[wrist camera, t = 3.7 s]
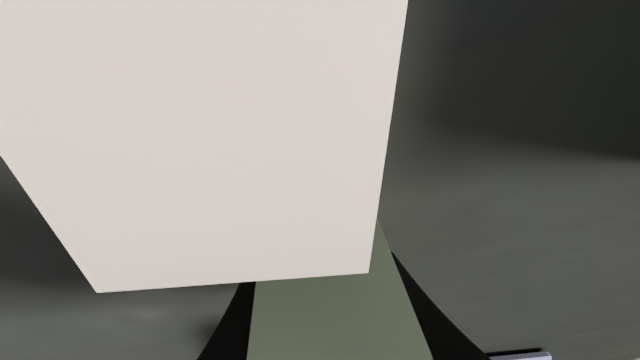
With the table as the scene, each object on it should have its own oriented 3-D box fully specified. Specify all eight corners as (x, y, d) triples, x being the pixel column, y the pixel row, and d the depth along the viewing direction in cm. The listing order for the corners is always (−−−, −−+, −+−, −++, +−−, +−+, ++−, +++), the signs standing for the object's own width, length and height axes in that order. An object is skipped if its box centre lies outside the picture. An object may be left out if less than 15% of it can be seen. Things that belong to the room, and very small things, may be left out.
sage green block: (363, 275, 14) (403, 426, 9) (274, 282, 14) (265, 442, 9) (372, 205, 12) (433, 359, 7) (264, 211, 11) (244, 377, 6)
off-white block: (328, 134, 10) (368, 273, 5) (198, 138, 10) (96, 293, 5) (331, -23, 7) (417, -66, 2) (156, -24, 7) (-163, -77, 2)
